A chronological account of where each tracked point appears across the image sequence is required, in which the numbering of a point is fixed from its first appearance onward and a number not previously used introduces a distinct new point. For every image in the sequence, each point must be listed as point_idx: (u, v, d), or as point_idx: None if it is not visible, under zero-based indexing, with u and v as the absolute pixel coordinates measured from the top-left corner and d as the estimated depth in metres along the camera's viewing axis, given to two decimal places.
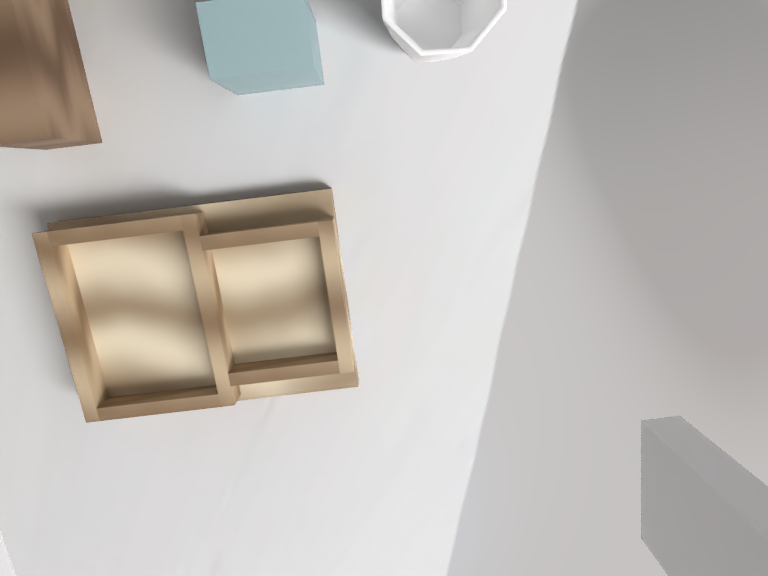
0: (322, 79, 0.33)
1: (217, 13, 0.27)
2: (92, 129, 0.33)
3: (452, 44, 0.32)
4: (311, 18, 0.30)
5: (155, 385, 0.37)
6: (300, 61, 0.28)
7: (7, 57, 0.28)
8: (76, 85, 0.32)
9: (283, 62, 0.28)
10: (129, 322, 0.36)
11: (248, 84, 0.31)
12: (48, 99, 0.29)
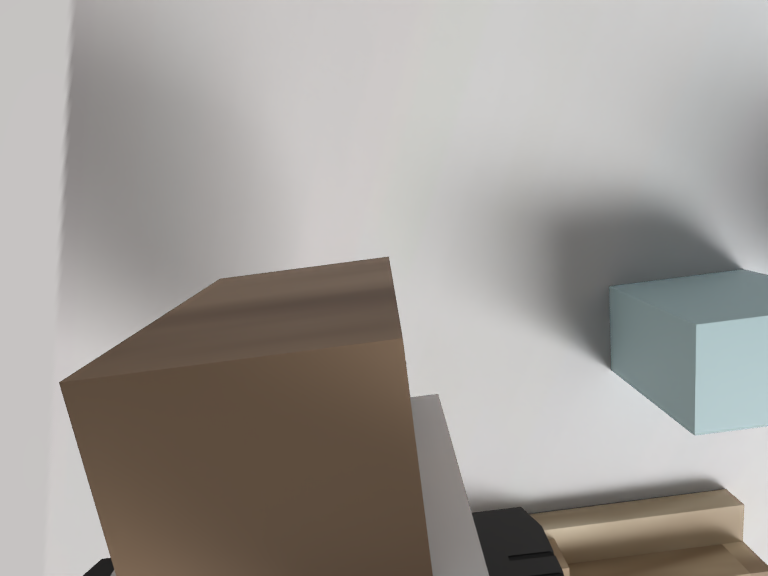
0: None
1: (729, 340, 0.16)
2: None
3: None
4: None
5: None
6: None
7: None
8: None
9: None
10: None
11: None
12: None
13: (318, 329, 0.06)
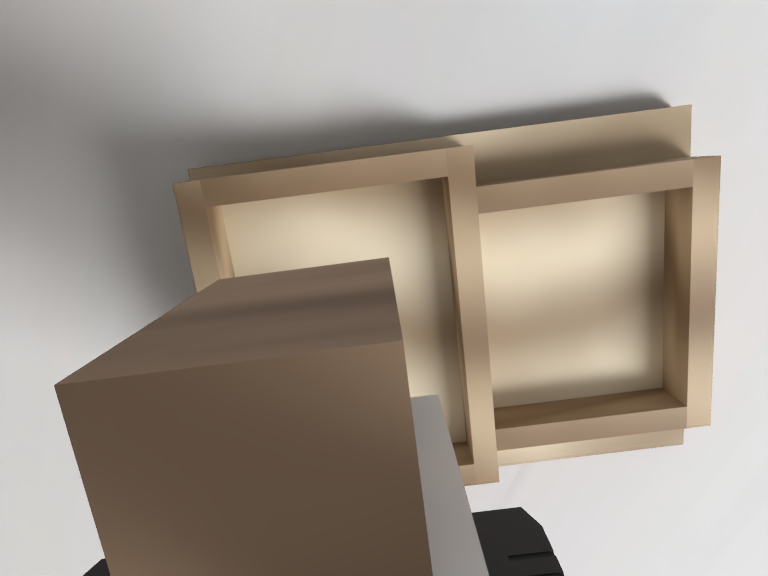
0: None
1: None
2: None
3: None
4: None
5: None
6: None
7: None
8: None
9: None
10: None
11: None
12: None
13: (318, 331, 0.06)
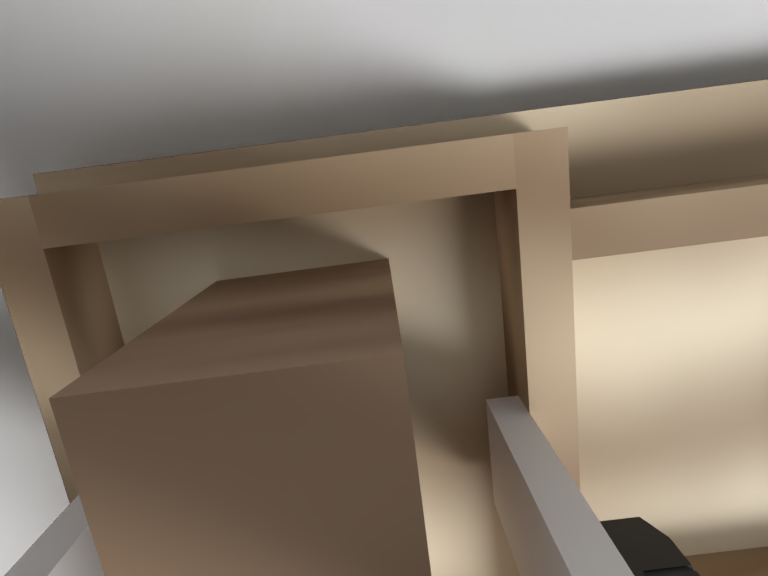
0: None
1: None
2: None
3: None
4: None
5: None
6: None
7: None
8: None
9: None
10: None
11: None
12: None
13: (317, 341, 0.06)
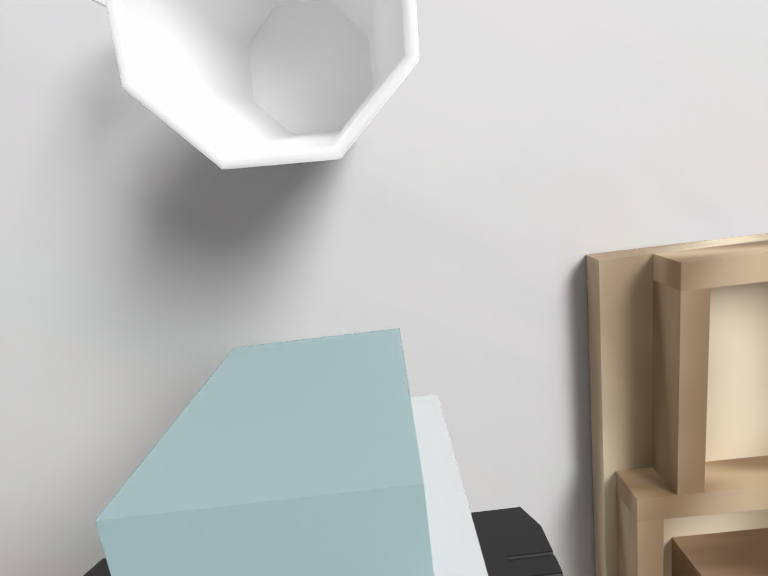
0: (396, 345, 0.11)
1: None
2: None
3: (345, 18, 0.16)
4: (223, 405, 0.09)
5: None
6: (401, 537, 0.06)
7: None
8: None
9: None
10: None
11: None
12: None
13: None
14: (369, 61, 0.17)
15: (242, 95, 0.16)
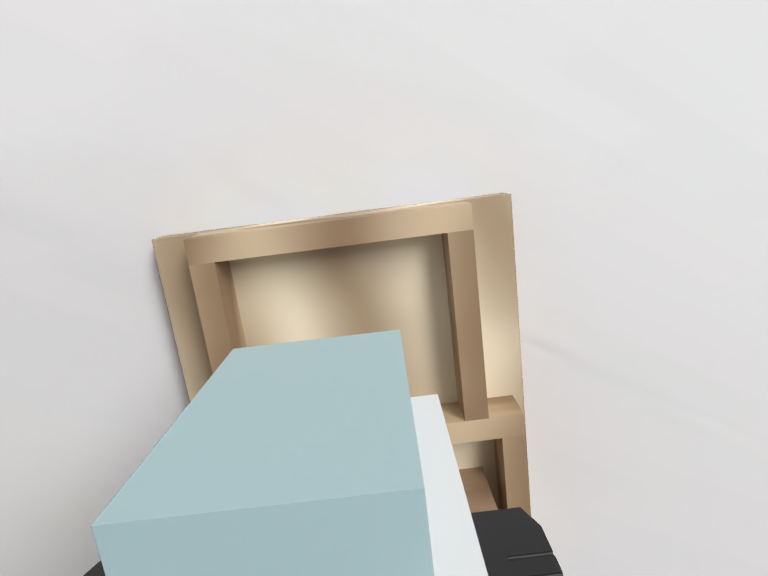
0: (396, 347, 0.10)
1: None
2: (468, 481, 0.22)
3: None
4: (222, 407, 0.09)
5: None
6: (401, 542, 0.06)
7: None
8: None
9: None
10: None
11: None
12: None
13: None
14: None
15: None
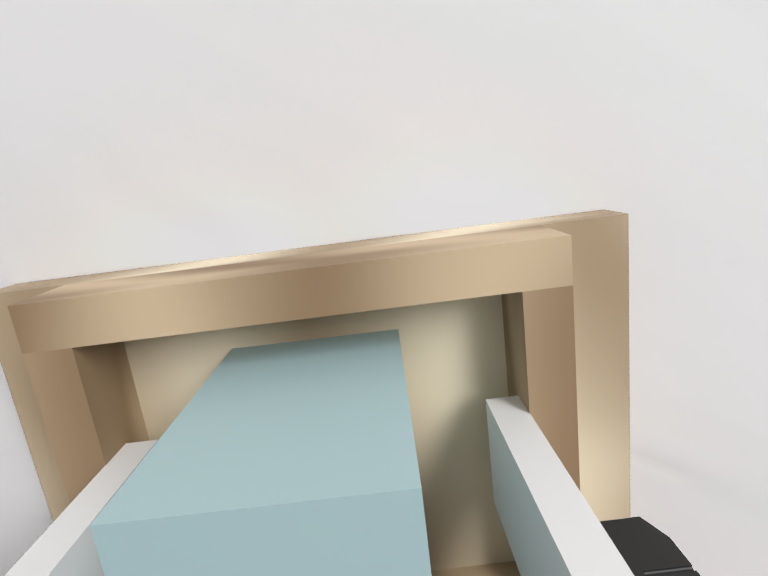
0: (394, 346, 0.11)
1: None
2: None
3: None
4: (220, 407, 0.09)
5: None
6: (398, 541, 0.06)
7: None
8: None
9: None
10: None
11: None
12: None
13: None
14: None
15: None
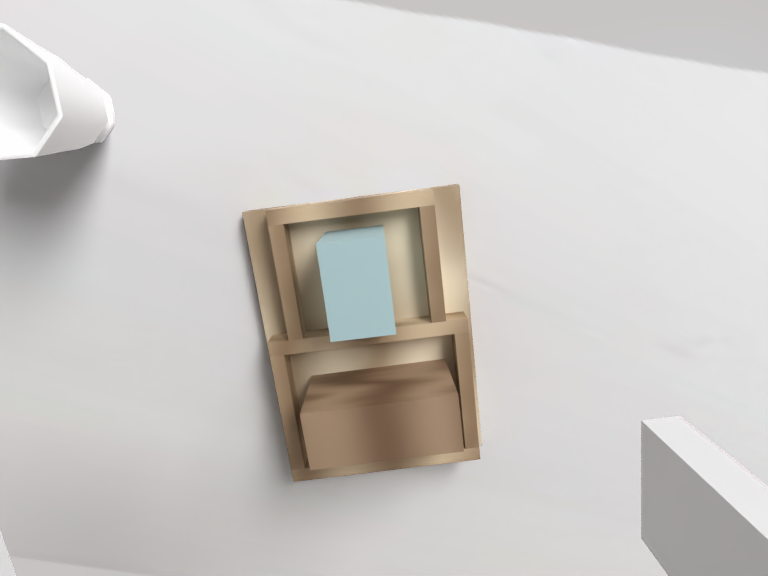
0: (381, 226, 0.33)
1: (339, 323, 0.29)
2: (435, 365, 0.35)
3: None
4: (332, 236, 0.31)
5: None
6: (380, 249, 0.28)
7: (390, 418, 0.31)
8: (398, 373, 0.35)
9: (381, 265, 0.29)
10: None
11: None
12: (421, 392, 0.32)
13: None
14: (102, 106, 0.32)
15: (31, 124, 0.31)
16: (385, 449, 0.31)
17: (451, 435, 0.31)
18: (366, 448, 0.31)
